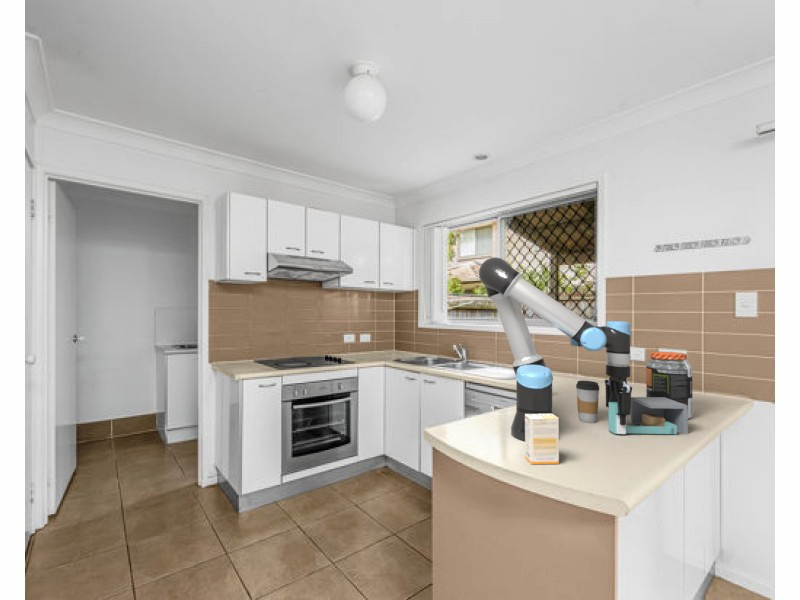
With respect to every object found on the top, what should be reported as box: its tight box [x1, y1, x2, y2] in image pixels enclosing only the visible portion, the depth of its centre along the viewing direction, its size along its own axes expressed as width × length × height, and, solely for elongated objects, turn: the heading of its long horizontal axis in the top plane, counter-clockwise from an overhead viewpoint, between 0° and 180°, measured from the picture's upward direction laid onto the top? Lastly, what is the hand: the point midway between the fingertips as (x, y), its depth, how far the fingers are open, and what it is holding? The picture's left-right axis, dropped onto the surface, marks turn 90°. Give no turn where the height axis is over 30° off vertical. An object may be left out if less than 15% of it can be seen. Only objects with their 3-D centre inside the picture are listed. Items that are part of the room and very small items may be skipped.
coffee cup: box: [575, 380, 600, 424], centre depth 151 cm, size 8×8×15 cm
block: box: [641, 414, 665, 426], centre depth 140 cm, size 5×5×5 cm
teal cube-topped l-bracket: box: [608, 402, 678, 435], centre depth 139 cm, size 22×11×10 cm, turn 89°
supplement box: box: [524, 413, 560, 465], centre depth 110 cm, size 8×5×13 cm, turn 92°
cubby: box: [630, 396, 689, 435], centre depth 142 cm, size 13×12×10 cm
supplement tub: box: [645, 351, 694, 419], centre depth 160 cm, size 16×16×26 cm
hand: (617, 431), depth 136 cm, fingers closed on teal cube-topped l-bracket, 4 cm apart
